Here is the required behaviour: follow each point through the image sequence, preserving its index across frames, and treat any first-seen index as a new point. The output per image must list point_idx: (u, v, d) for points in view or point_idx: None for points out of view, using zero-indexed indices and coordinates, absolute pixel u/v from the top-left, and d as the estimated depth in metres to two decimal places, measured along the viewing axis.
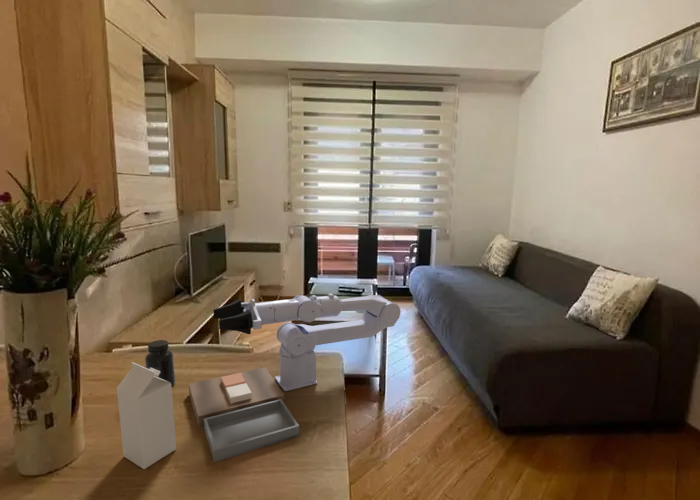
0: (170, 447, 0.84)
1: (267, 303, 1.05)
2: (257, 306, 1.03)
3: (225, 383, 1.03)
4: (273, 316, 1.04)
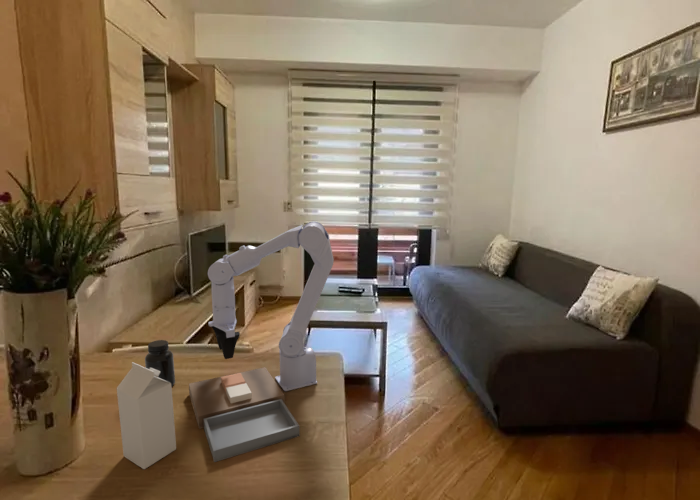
0: (170, 447, 0.84)
1: (213, 311, 1.07)
2: (215, 321, 1.07)
3: (225, 383, 1.03)
4: (226, 308, 1.06)
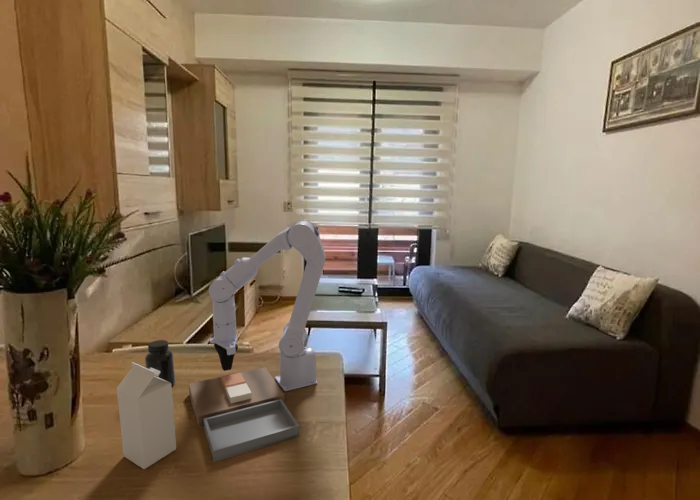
0: (170, 447, 0.84)
1: (214, 328, 1.08)
2: (216, 338, 1.08)
3: (225, 383, 1.03)
4: (227, 325, 1.07)
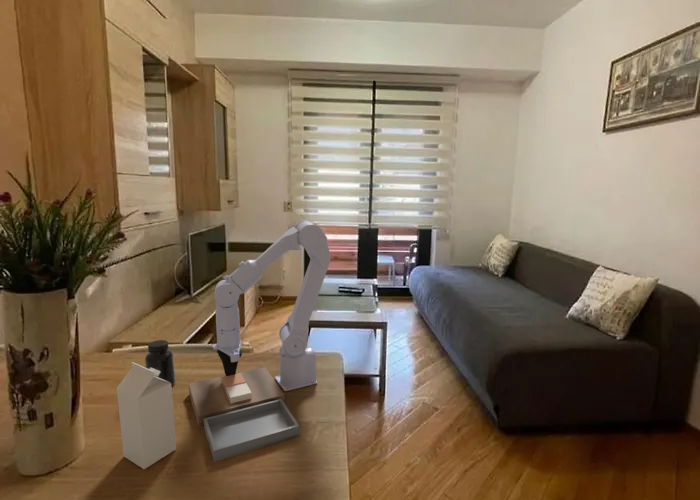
0: (170, 447, 0.84)
1: (217, 333, 1.04)
2: (219, 345, 1.04)
3: (225, 383, 1.03)
4: (230, 331, 1.03)
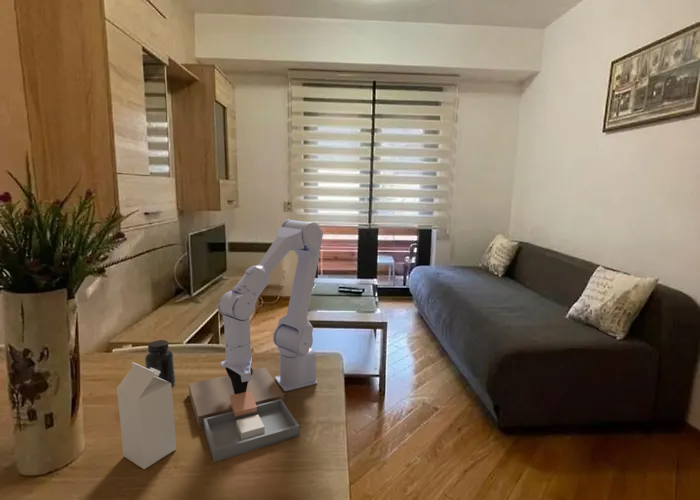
0: (170, 447, 0.84)
1: (226, 350, 0.95)
2: (228, 362, 0.95)
3: (235, 408, 0.94)
4: (241, 347, 0.94)
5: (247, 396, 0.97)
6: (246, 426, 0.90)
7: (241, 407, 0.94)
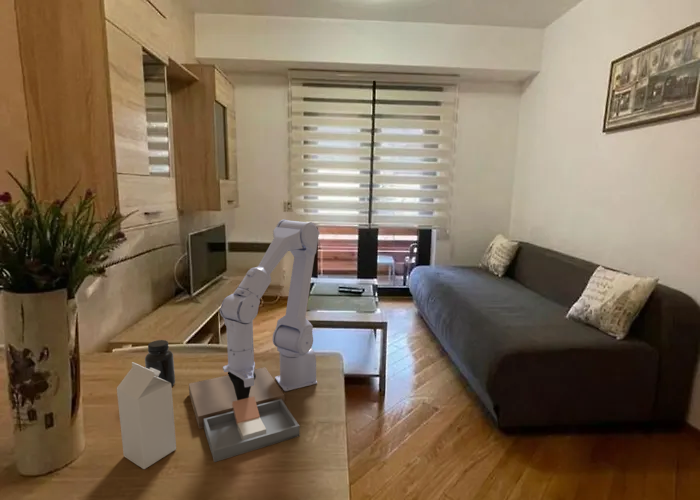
0: (170, 447, 0.84)
1: (229, 354, 0.92)
2: (231, 366, 0.93)
3: (237, 417, 0.92)
4: (244, 351, 0.92)
5: (250, 403, 0.95)
6: (247, 428, 0.89)
7: (244, 416, 0.92)
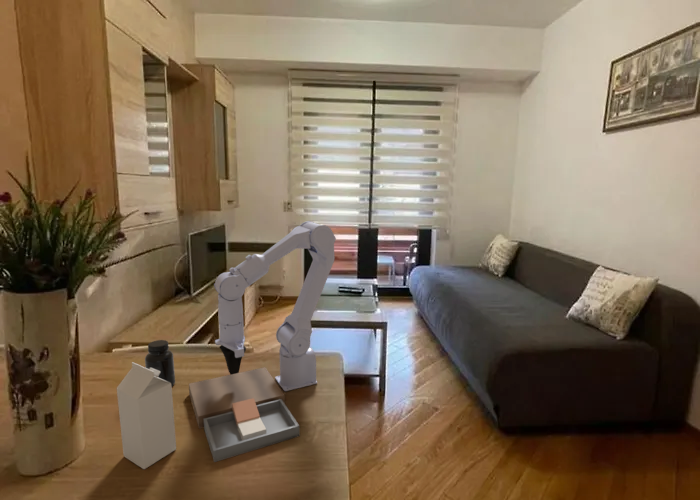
0: (170, 447, 0.84)
1: (220, 328, 1.00)
2: (222, 340, 1.00)
3: (237, 417, 0.92)
4: (234, 325, 0.99)
5: (249, 404, 0.95)
6: (247, 428, 0.89)
7: (244, 416, 0.92)
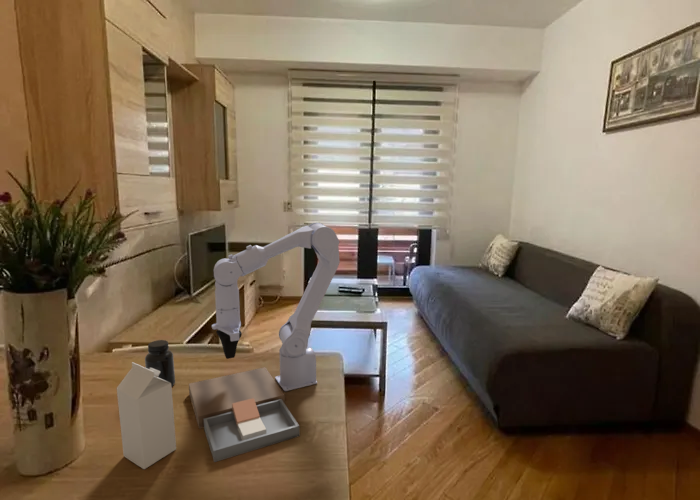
0: (170, 447, 0.84)
1: (217, 313, 1.02)
2: (219, 324, 1.02)
3: (237, 417, 0.92)
4: (230, 310, 1.01)
5: (249, 404, 0.95)
6: (247, 428, 0.89)
7: (244, 416, 0.92)
